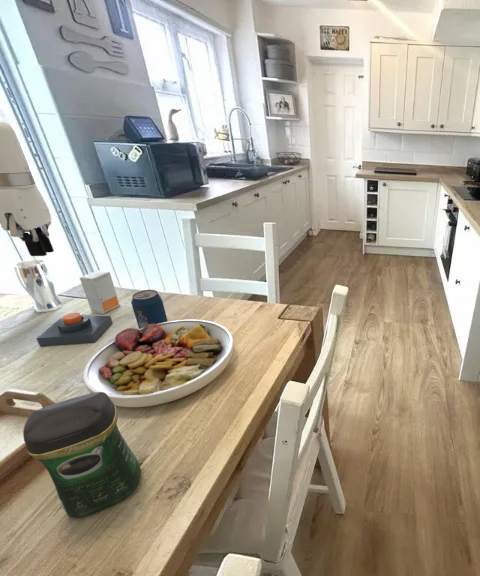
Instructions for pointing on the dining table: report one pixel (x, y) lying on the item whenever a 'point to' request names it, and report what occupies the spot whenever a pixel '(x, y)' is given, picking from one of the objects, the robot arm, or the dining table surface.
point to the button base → (75, 331)
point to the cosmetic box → (100, 291)
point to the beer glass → (38, 284)
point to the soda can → (148, 308)
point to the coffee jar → (83, 453)
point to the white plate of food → (159, 362)
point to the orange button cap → (72, 318)
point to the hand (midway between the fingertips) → (42, 253)
